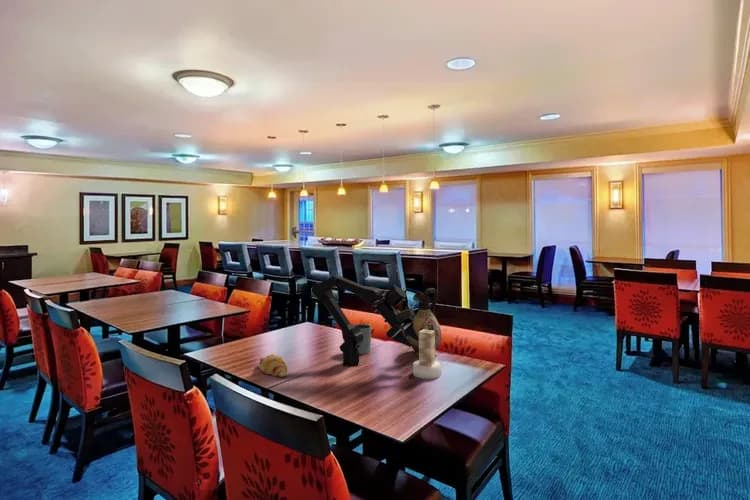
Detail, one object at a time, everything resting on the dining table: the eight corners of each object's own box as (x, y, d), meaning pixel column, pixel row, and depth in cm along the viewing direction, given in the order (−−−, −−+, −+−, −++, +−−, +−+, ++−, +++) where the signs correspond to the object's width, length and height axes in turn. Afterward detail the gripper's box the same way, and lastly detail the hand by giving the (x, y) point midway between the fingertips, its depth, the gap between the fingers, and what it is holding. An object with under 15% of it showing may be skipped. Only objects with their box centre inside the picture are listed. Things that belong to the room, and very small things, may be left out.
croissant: (291, 385, 169) (300, 365, 171) (270, 379, 163) (279, 358, 165) (267, 370, 185) (275, 352, 187) (247, 364, 179) (255, 346, 181)
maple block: (419, 365, 168) (418, 332, 168) (422, 361, 173) (422, 329, 172) (431, 366, 166) (431, 333, 166) (435, 362, 171) (434, 330, 170)
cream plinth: (415, 379, 164) (415, 369, 164) (411, 369, 175) (411, 360, 175) (444, 378, 165) (444, 368, 164) (438, 368, 176) (437, 359, 175)
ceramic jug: (418, 359, 187) (417, 291, 186) (402, 350, 202) (401, 287, 200) (451, 354, 194) (451, 288, 192) (433, 346, 208) (433, 284, 207)
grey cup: (371, 354, 196) (370, 328, 195) (349, 355, 196) (348, 329, 195) (371, 348, 206) (371, 323, 205) (350, 348, 206) (350, 323, 205)
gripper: (393, 304, 164) (421, 336, 160) (410, 296, 181) (435, 325, 177) (374, 323, 167) (401, 354, 164) (392, 313, 184) (417, 342, 181)
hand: (414, 343), depth 171 cm, fingers open, 9 cm apart
